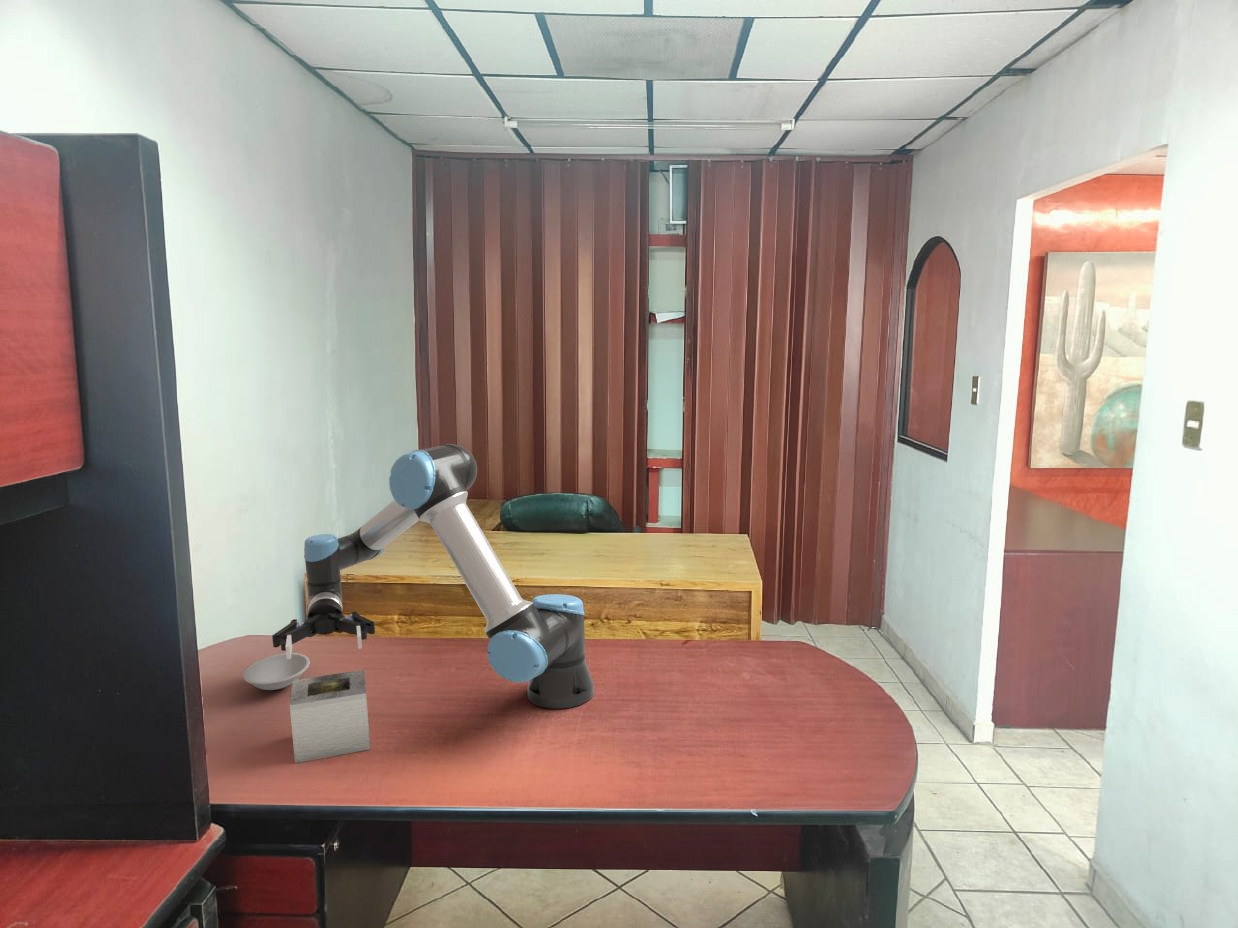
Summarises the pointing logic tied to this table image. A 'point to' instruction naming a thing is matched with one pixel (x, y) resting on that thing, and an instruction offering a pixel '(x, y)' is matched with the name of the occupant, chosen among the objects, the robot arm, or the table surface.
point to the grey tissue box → (329, 716)
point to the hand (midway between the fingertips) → (324, 647)
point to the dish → (276, 671)
